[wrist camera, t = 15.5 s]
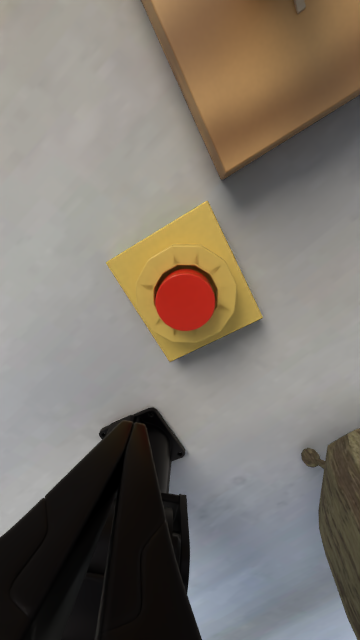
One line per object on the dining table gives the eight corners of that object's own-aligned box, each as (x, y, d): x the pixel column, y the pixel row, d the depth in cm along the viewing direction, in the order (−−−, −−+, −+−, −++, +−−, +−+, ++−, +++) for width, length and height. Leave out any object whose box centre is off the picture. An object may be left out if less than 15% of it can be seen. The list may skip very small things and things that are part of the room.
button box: (257, 310, 20) (270, 327, 16) (171, 352, 21) (167, 375, 18) (206, 202, 17) (209, 196, 14) (112, 259, 19) (95, 266, 15)
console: (374, 85, 14) (413, 55, 12) (221, 180, 17) (226, 172, 14) (304, -206, 11) (338, -334, 9) (122, -40, 13) (106, -103, 11)
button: (222, 306, 16) (225, 315, 15) (175, 329, 17) (173, 340, 15) (197, 258, 15) (197, 262, 14) (148, 285, 16) (143, 292, 14)
